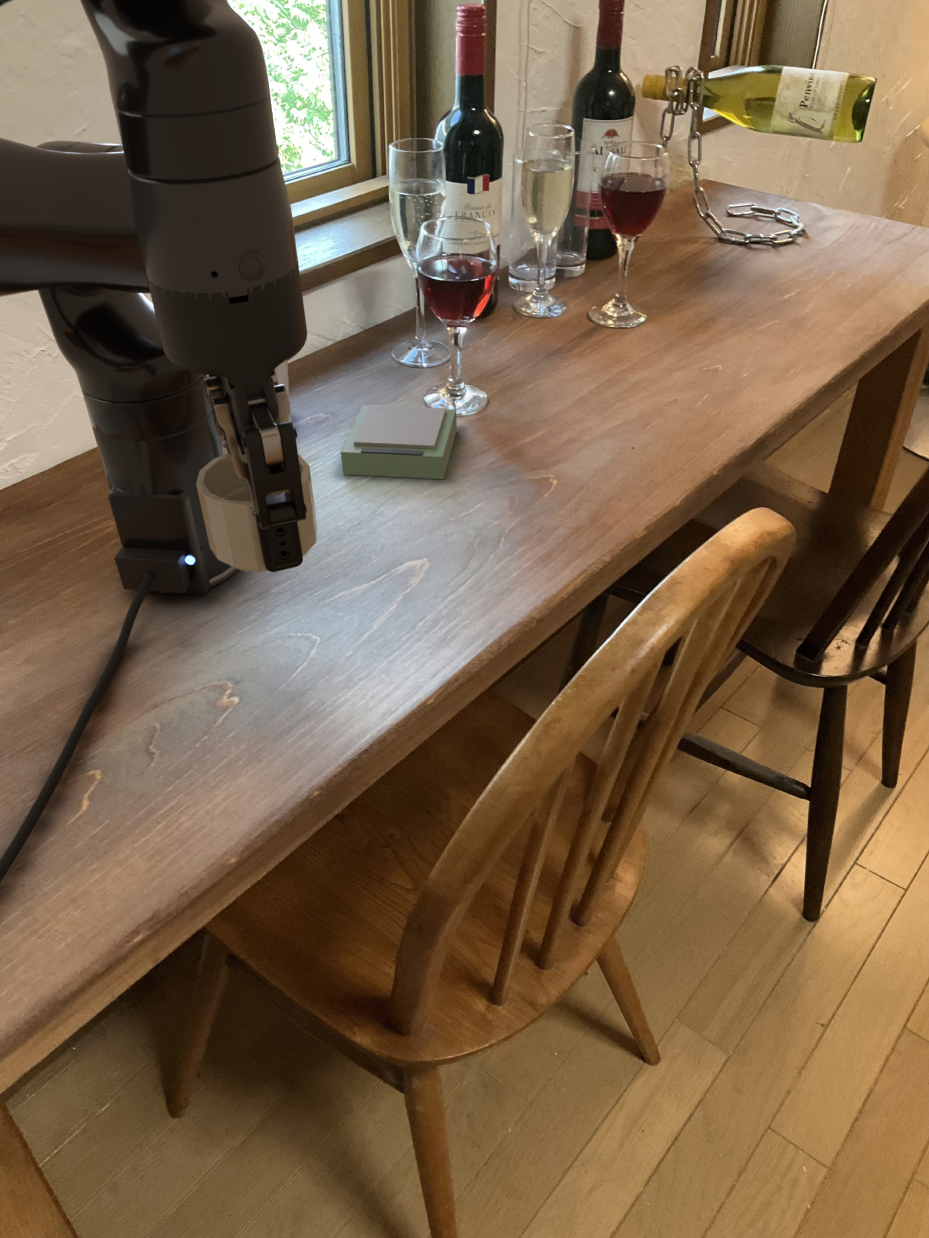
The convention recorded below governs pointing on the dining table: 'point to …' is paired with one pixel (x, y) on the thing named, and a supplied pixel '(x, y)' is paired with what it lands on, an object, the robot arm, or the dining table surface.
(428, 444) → the scale
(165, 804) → the dining table surface
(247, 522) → the beige cup
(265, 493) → the robot arm
